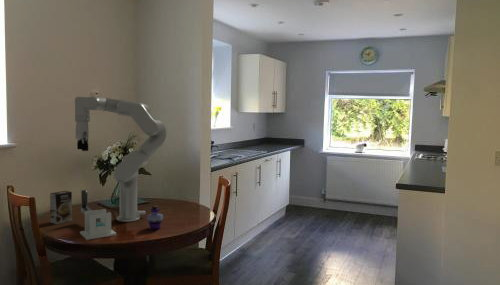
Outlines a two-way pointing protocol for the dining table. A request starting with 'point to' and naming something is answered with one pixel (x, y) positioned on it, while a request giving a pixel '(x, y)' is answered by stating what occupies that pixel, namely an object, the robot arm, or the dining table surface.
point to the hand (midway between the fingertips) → (82, 150)
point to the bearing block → (99, 231)
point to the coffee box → (60, 207)
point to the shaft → (85, 202)
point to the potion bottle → (154, 218)
